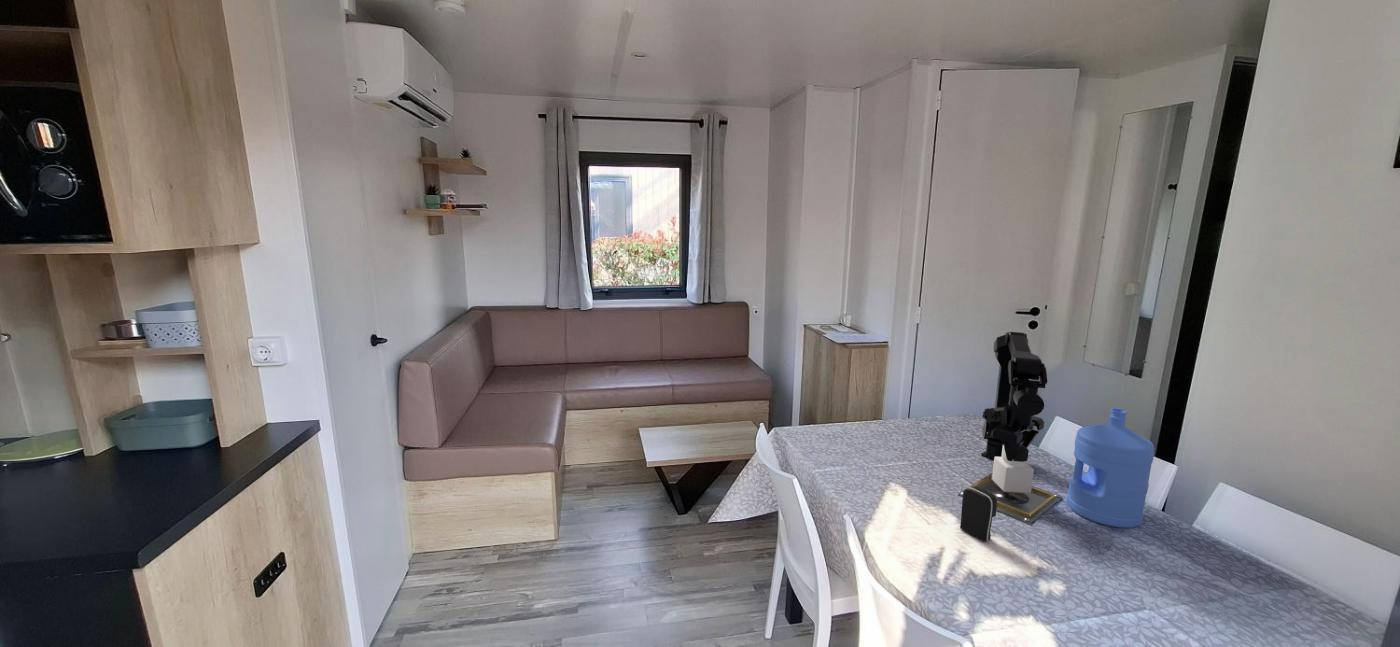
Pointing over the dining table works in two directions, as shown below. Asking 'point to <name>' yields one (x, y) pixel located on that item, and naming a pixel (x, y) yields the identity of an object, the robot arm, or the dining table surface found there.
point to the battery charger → (978, 512)
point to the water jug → (1111, 473)
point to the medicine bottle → (1013, 472)
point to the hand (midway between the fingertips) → (1014, 457)
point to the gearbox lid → (1019, 500)
